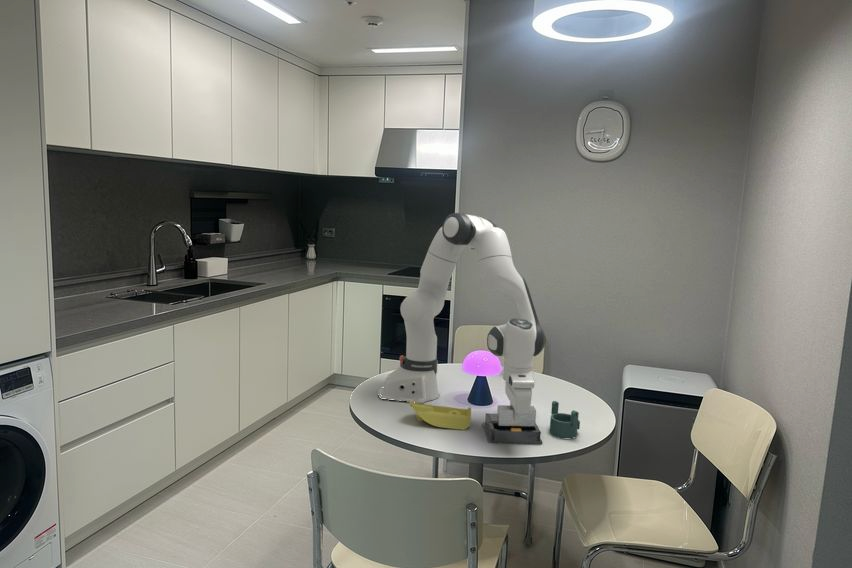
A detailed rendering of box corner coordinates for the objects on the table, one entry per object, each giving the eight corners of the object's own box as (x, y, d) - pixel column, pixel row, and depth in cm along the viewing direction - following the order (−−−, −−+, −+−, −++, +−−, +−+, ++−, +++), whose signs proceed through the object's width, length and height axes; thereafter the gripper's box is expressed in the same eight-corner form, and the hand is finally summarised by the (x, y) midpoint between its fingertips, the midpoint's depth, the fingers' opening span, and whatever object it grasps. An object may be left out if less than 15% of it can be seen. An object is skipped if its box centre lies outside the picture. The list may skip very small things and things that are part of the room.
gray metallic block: (498, 425, 165) (499, 409, 165) (496, 421, 169) (497, 405, 168) (535, 426, 166) (536, 410, 165) (532, 421, 169) (533, 406, 168)
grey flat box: (488, 442, 164) (489, 428, 163) (482, 424, 178) (483, 411, 177) (542, 444, 164) (543, 430, 164) (532, 426, 178) (533, 413, 178)
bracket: (575, 441, 168) (578, 412, 167) (545, 435, 172) (547, 407, 170) (580, 431, 176) (582, 404, 175) (551, 425, 180) (553, 399, 179)
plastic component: (468, 409, 185) (471, 406, 175) (466, 432, 182) (469, 430, 173) (409, 402, 185) (409, 399, 175) (406, 425, 182) (406, 423, 173)
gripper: (501, 364, 175) (499, 406, 177) (513, 384, 155) (511, 431, 157) (521, 364, 176) (519, 406, 177) (536, 384, 155) (533, 431, 157)
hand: (515, 418), depth 167 cm, fingers closed on gray metallic block, 4 cm apart
